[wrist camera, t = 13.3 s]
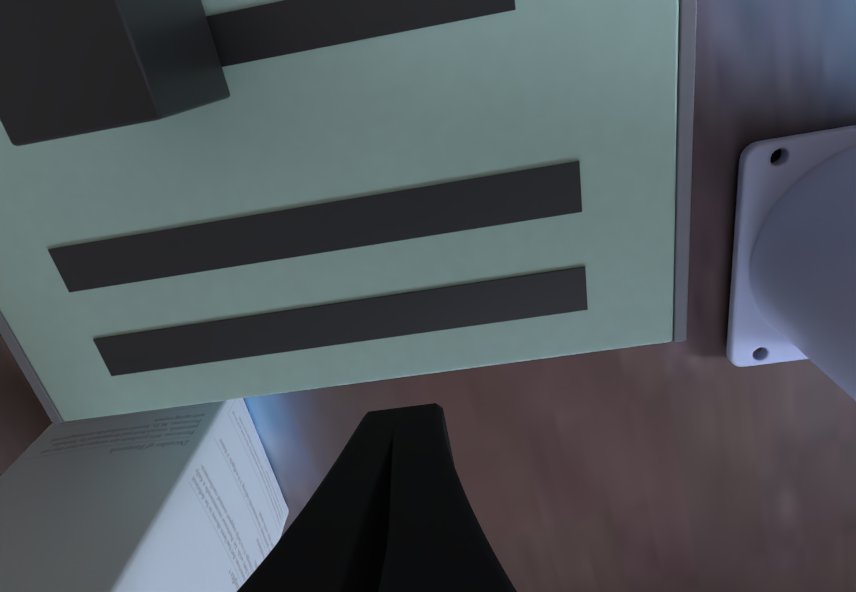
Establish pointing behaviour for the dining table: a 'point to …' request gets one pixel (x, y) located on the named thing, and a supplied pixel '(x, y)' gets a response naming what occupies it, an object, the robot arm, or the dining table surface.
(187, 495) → the white packaging box
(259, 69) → the toaster
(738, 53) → the dining table surface
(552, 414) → the dining table surface
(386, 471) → the robot arm
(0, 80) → the slider
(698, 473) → the dining table surface
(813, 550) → the dining table surface
